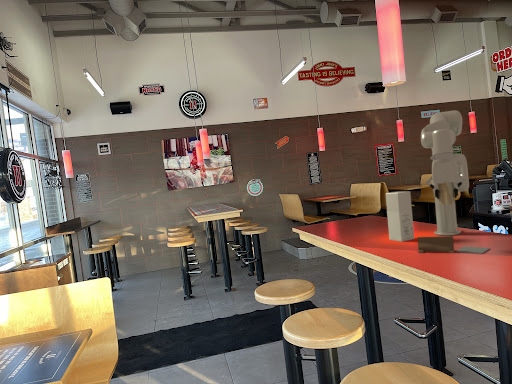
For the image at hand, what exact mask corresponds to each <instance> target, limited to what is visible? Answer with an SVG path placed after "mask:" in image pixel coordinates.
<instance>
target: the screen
mask: <svg viewBox="0 0 512 384" xmlns="http://www.w3.org/2000/svg"><path fill="white" fill-rule="evenodd" d="M454 243H455V242H454V235H437V236H417V247H418V249H417V250H418V254H423V253H449V254H452V253H453V254H455V244H454Z"/></svg>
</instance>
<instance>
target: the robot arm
mask: <svg viewBox="0 0 512 384" xmlns="http://www.w3.org/2000/svg"><path fill="white" fill-rule="evenodd" d="M462 130H463V116H462V114H461V112H460V111H459V110H448V111H440V112H436V113H434V114H432V116H431V117H430V119H429V124H427V125H426V126H425V127H423V128H422V129H421V132H420V143H421V146H422V147H423V148H425V149H431V152H432V153H431V155H432V156H431V155H430V159H429V160H432V162H431V176H430V177H429V178H428V179H427V180H426V182H425V184H426V185H427V186H429V187H430V188H431V189H432V191H433V196H434V204H435V206H434V207H435V217H436V227H437V228H436V229H437V230H435V231H434V232H433V233H434V235H437V236H455V235H461V233H462V231H461V230H460V229H459V230H458V224H457V212H456V203H455V204H449V205H445V204H439V196H438V184H444V183H445V180H446V179H447V180H448V183H453V185H454V198H455V199H457V197H459V193H460V192H467V191H468V190H469V188H470V181H469V180H470V179H469V171H468V170H469V169H468V162H467V161H468V160H467V158H466V155H464V154H463V153H454V151H453V145H454V144H455V143H456V141H457V136H459V135H461V134H462Z"/></svg>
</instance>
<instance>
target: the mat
mask: <svg viewBox="0 0 512 384" xmlns="http://www.w3.org/2000/svg"><path fill="white" fill-rule="evenodd" d="M490 249H491V248H490V247H479V246H478V247H477V246H462V248H459V249H457V250H456V253H465V254H467V253H468V254H480V255H481V254H483V255H484V253H486V252H488V251H490Z"/></svg>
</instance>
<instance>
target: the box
mask: <svg viewBox="0 0 512 384" xmlns="http://www.w3.org/2000/svg"><path fill="white" fill-rule="evenodd" d="M438 196H439V204H445V205H449V204H455V205H456V201H455V199H456V198H455V195H454V185H453V183H448V180H447V179H446V180H445V183H444V184H438Z"/></svg>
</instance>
